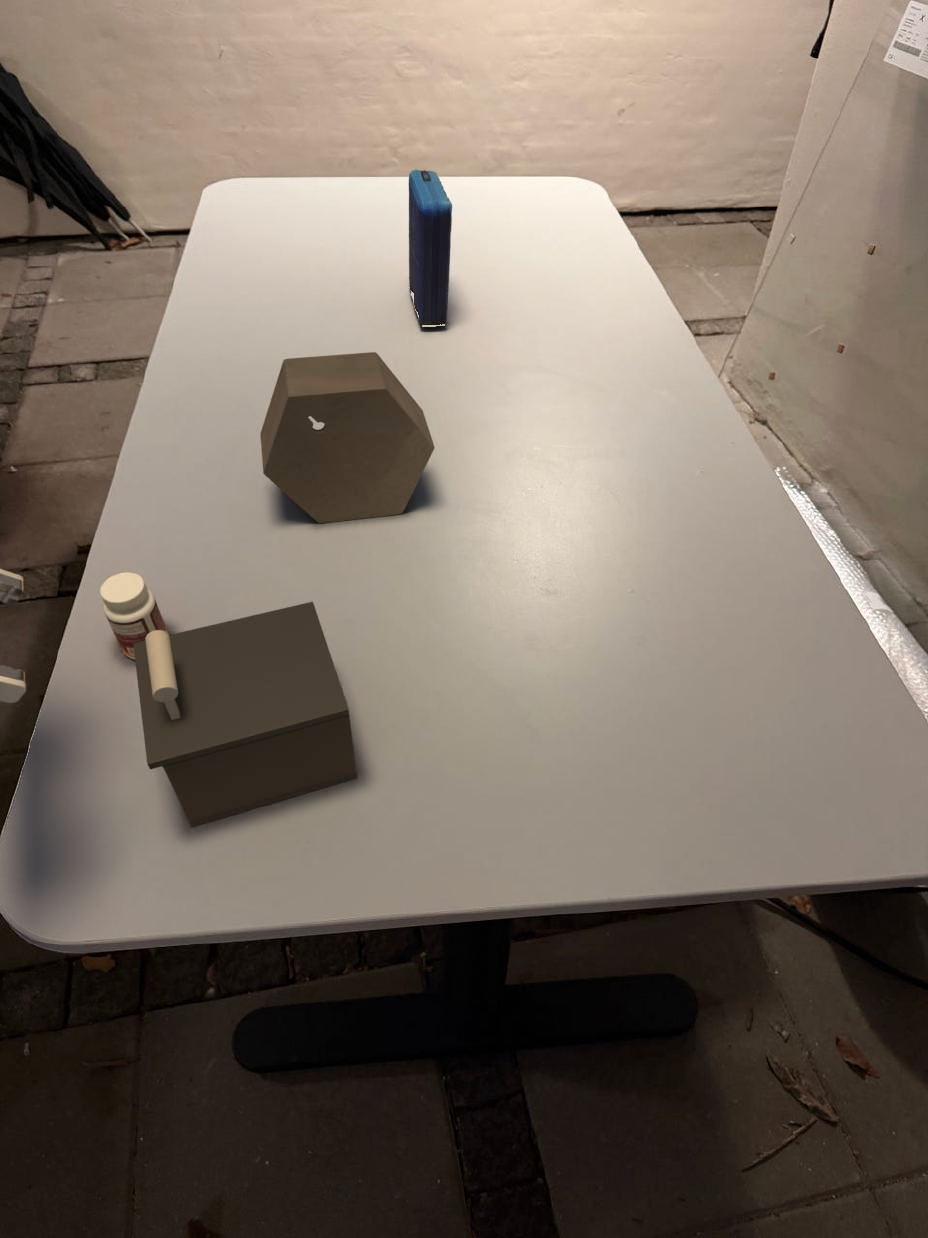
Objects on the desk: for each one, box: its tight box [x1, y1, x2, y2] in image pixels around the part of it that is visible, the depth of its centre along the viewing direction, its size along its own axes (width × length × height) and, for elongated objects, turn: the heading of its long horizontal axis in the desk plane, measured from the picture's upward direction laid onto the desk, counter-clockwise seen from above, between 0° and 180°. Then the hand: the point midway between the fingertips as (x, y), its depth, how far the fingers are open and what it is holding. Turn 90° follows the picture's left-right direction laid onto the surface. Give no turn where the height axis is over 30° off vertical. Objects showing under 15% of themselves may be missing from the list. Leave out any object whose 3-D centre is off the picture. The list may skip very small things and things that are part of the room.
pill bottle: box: [99, 572, 169, 661], centre depth 76 cm, size 5×5×8 cm
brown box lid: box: [133, 601, 350, 770], centre depth 63 cm, size 16×13×5 cm
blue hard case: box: [408, 169, 453, 329], centre depth 122 cm, size 14×5×20 cm, turn 11°
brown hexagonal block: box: [259, 351, 435, 524], centre depth 90 cm, size 17×8×21 cm
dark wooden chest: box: [162, 714, 358, 828], centre depth 68 cm, size 15×13×10 cm
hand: (21, 637), depth 54 cm, fingers open, 8 cm apart
